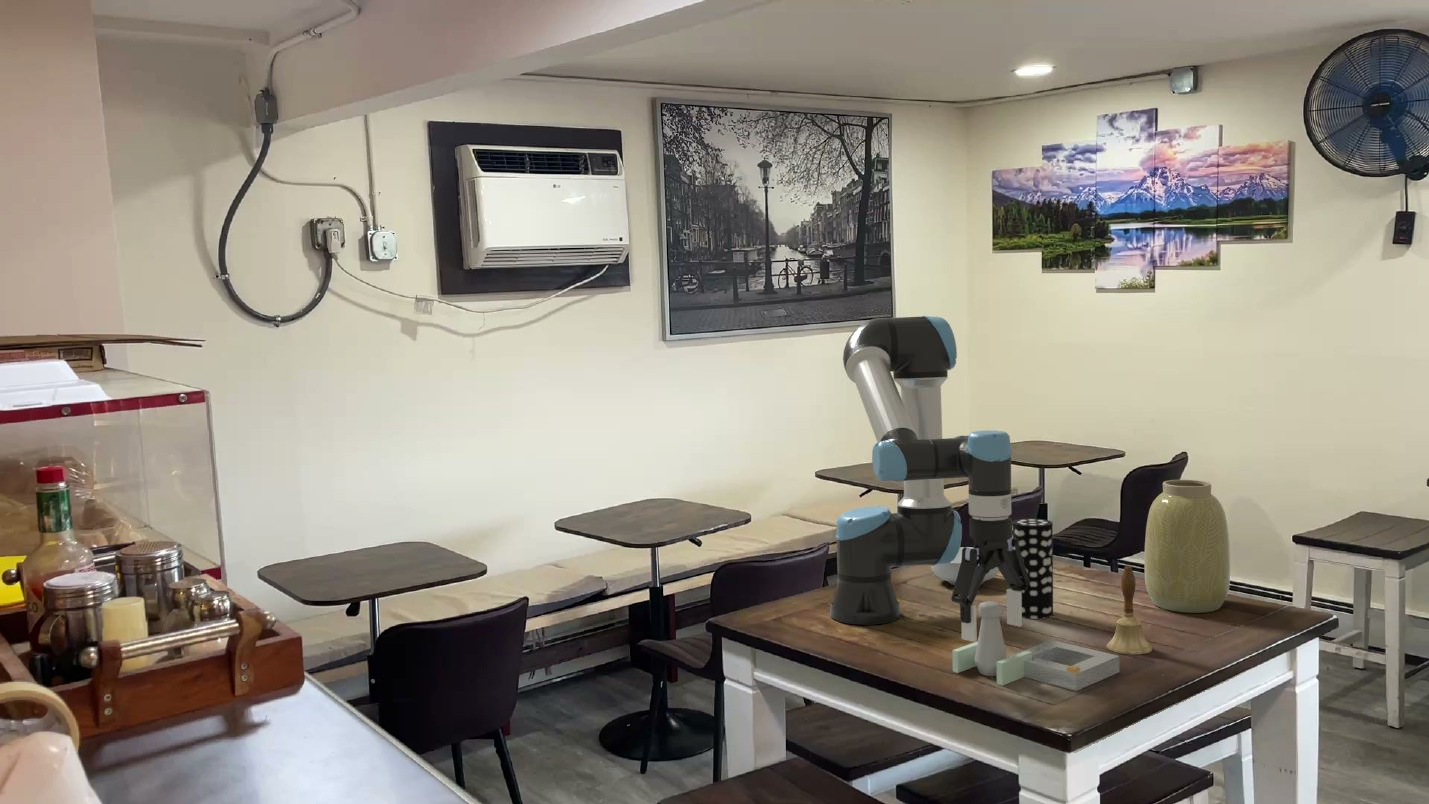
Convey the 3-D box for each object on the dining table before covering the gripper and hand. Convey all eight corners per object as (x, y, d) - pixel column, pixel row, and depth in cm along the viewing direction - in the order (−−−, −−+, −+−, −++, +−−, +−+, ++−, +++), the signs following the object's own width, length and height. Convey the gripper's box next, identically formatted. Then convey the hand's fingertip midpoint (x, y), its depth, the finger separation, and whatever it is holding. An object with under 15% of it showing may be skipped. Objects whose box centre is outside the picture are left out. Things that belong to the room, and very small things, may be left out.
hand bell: (1098, 649, 216) (1098, 568, 215) (1118, 639, 222) (1118, 560, 221) (1140, 658, 210) (1140, 574, 209) (1159, 647, 216) (1159, 566, 215)
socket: (1007, 672, 204) (1007, 653, 204) (1051, 655, 213) (1051, 637, 213) (1076, 691, 194) (1076, 671, 193) (1119, 672, 202) (1119, 653, 202)
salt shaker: (1008, 678, 201) (1007, 607, 200) (975, 677, 202) (974, 606, 201) (1006, 667, 207) (1005, 599, 206) (974, 667, 208) (973, 598, 207)
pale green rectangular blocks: (952, 671, 206) (952, 650, 205) (982, 660, 212) (982, 639, 211) (1002, 685, 197) (1002, 663, 197) (1032, 673, 203) (1031, 652, 203)
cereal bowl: (960, 571, 282) (959, 543, 281) (1015, 582, 269) (1015, 553, 268) (915, 583, 271) (915, 554, 271) (971, 595, 258) (971, 565, 258)
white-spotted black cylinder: (1013, 618, 239) (1012, 525, 237) (1012, 607, 247) (1011, 518, 245) (1054, 619, 237) (1053, 526, 235) (1052, 609, 245) (1051, 518, 243)
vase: (1240, 616, 235) (1241, 489, 232) (1154, 615, 237) (1154, 489, 235) (1217, 595, 251) (1217, 476, 249) (1136, 594, 254) (1136, 477, 252)
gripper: (964, 529, 191) (966, 650, 193) (1048, 509, 207) (1049, 622, 209) (929, 524, 197) (932, 642, 198) (1013, 505, 213) (1015, 615, 214)
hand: (992, 632), depth 203 cm, fingers open, 13 cm apart
